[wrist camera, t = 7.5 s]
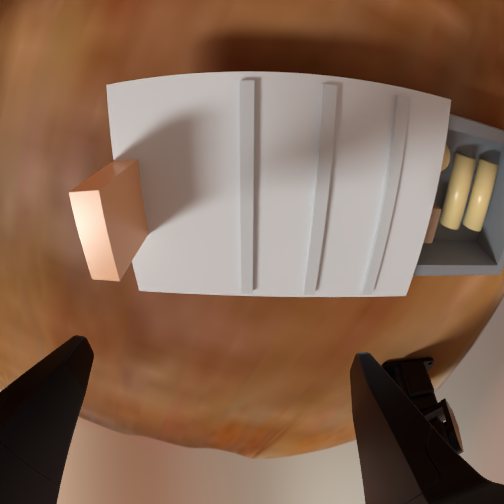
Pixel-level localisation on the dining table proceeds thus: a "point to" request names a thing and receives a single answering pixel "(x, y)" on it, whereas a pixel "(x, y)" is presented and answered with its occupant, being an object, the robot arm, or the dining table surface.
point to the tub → (467, 204)
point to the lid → (264, 185)
